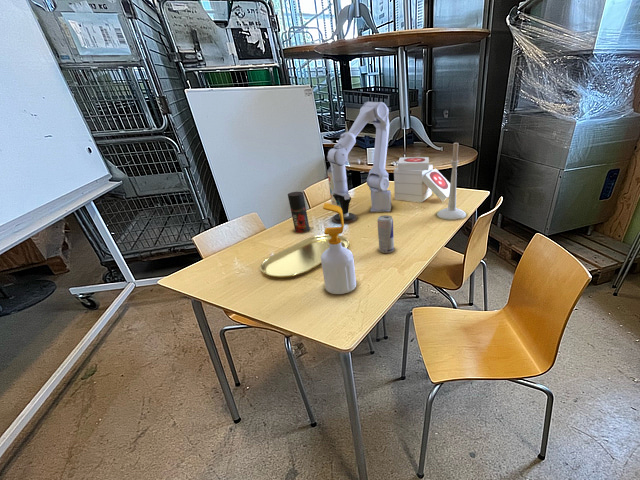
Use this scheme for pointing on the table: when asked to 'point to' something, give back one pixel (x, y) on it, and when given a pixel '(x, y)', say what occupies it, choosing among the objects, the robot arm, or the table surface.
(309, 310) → the table surface
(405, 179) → the pizza boxes
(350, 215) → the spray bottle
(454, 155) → the candlestick
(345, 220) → the turntable base
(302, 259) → the serving platter
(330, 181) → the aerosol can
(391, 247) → the energy drink
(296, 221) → the deodorant
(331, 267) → the soap bottle
